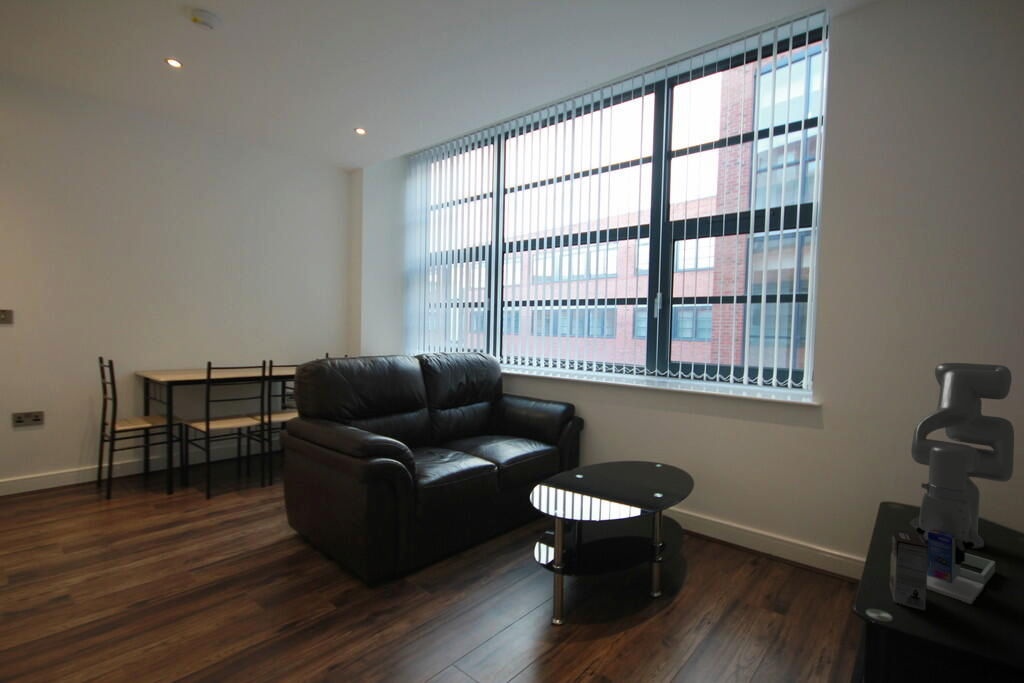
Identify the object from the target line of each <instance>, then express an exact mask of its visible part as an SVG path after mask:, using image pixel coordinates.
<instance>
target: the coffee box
mask: <svg viewBox="0 0 1024 683" xmlns="http://www.w3.org/2000/svg"><path fill="white" fill-rule="evenodd" d="M928 551H929V547H928V545H927V543H926V541H925V539H924V537H923V535H922V534H919V533H918V532H912V531H907V530H900V529H895V528H892V529H891V547H890V571H889V588H890V593H891V596H892V600H893V603H894V602H895V604H897V603H899V604H898V605H901V604H902V606H905V605H906V607H910V608H912V609H913V608H914V609H917V610H920V611H927V610H926V608H927V607H926V603H927V589H926V588H927V570H928Z"/></svg>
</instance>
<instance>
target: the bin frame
mask: <svg viewBox="0 0 1024 683" xmlns="http://www.w3.org/2000/svg"><path fill="white" fill-rule="evenodd" d="M961 564H964V565H966V566H967V565H968V566H970V567H974V568H977V569H980V570H982V572H981V573H980V572H976V571H972V570H970V569H966V568H963V567H960V574H959V575H958V576H960V577H963V578H966V579H969V580H972V581H975V582H978V583H981V584H984V586H986V585H987V583H988V582H989V580H990V579H991V578H992V576H993V575H994V574H995V572H996V561H994V560H991V559H988V558H984V557H980V556H978V555H973V554H971V553H970V554H969V553H967V552H965V561H964V562H961Z"/></svg>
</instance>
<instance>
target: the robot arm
mask: <svg viewBox="0 0 1024 683" xmlns="http://www.w3.org/2000/svg"><path fill="white" fill-rule="evenodd" d="M934 375H935V379H936V381H937V384H938V386H939V395H938V403H937V409H936V410H935V411H933V412H931V413H930V414H929V413H928V415H926V416H924V417H923V418H922V419H921V420H920V421H919V422H918V424H916V426H915V429H914V431H913V438H912V443H911V448H910V449H911V451H910V452H911V454H910V455H911V457H912V459H913V460H914V461H915V462H916V463H917V464H920V465H922V466H923V465H924V466H929V467H928V470H929V471H928V472H929V473H928V483H925V482H924V483H921V489H925V490H926V491H927V492H925V493H924V494H923V497H922V500H921V505H920V509H919V510H920V511H919V515H918V516H917V517H915V518H913V519H912V520H910V521H909V525H910V526H911V527H912V528H913V529H915V530H916V533H919V534H922V535H923V537H924V539H925V541H926V543H927V545H928V532H929V531H930V530H933V531H938V532H942V533H946V534H949V535H953V536H954V537H955V539H956V542H957V545H958V548H957V549H956V560H955V563H956V564H957V565H960V566H961V564H962V563H961V562H964V561H965V553H966V550H968V549H983V548H984V546H985V543H984V542H985V541H984V540H983V538H982V536H980V534H979V533H978V532H979V531H978V530H979V515H980V513H979V512H980V511H979V509H980V490H979V488H978V486H977V484H976V483H975V482H973V480H972V479H971V478H976V479H983V480H989V481H996V482H1002V483H1003V482H1004V483H1005V482H1008V481H1010V480H1011V479H1012V476H1013V473H1014V455H1015V454H1014V450H1015V429H1014V426H1013V424H1012V422H1011V421H1010V420H1008V419H1006V418H1004V417H1000V416H990V415H983V414H982V402H983V401H982V399H986V400H1000V401H1001V400H1004V399H1006V398H1007V397H1008V395H1009V393H1010V391H1011V385H1012V372H1011V370H1010V368H1009V367H1007V366H1005V365H1001V364H983V363H968V362H944V363H940V364H938V365H937V366H936V367H935V368H934ZM941 429H944V430H945V436H946V437H947V438H948V439H949V440H951V441H956V443H955V442H950V441H944V440H938V439H937V440H935V439H927V436H928V435H929V434H931V433H932V432H934V431H938V430H941ZM958 442H959V443H958ZM964 443H965V444H964ZM968 444H971V445H972V444H973V445H980V446H986V447H990V448H991V449H987V448H979V447H973V446H971V445H968Z"/></svg>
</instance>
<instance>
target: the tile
mask: <svg viewBox="0 0 1024 683" xmlns="http://www.w3.org/2000/svg"><path fill="white" fill-rule="evenodd" d="M927 573H928V570H927ZM984 589H985V585H984V584H981V583H978V582H975V581H972V580H969V579H966V578H963V577H960V576H957V578H956V579H955V580H954V582H953V583H948V582H945V581H943V580H940V579H937V578H934V577H931V576H928V575H927V588H926V590H929V591H932V592H935V593H938V594H940V595H943V596H946V597H949V598H952V599H954V598H955V600H957V599H958V600H957V601H960V600H961V602H963V603H966V604H969V605H973V603H974V602H975V600H976V599H977V598H978V597H979V595H980V594H981V593H982V591H983V590H984ZM976 597H977V598H976ZM973 601H974V602H973Z"/></svg>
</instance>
